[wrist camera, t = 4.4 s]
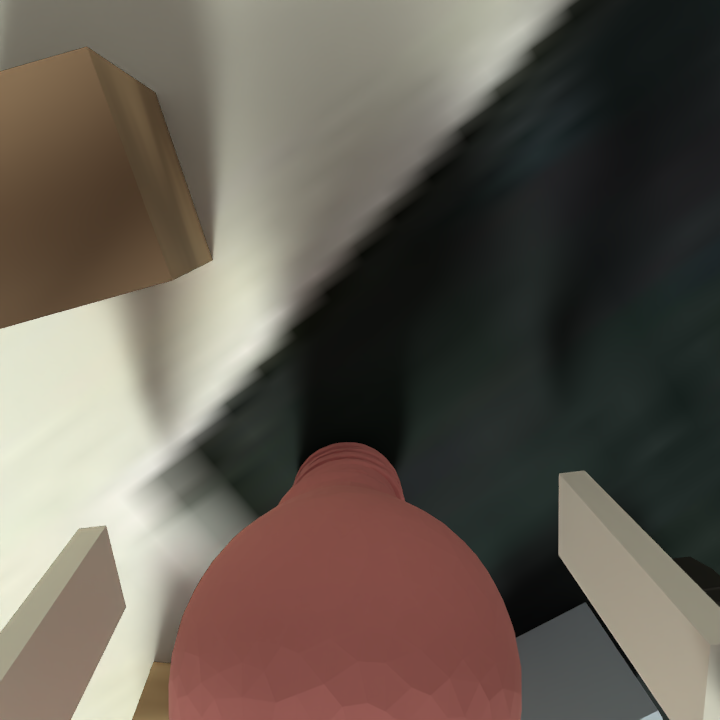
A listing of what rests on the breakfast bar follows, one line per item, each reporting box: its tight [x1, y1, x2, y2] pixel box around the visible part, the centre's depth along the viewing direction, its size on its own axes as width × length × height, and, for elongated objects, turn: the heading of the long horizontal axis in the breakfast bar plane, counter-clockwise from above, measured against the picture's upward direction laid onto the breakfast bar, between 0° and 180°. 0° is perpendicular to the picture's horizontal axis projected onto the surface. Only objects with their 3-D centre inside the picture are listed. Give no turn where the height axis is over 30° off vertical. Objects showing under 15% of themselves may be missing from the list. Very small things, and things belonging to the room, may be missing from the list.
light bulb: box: [168, 442, 522, 720], centre depth 14 cm, size 7×7×12 cm
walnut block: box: [0, 47, 212, 329], centre depth 15 cm, size 5×5×5 cm
